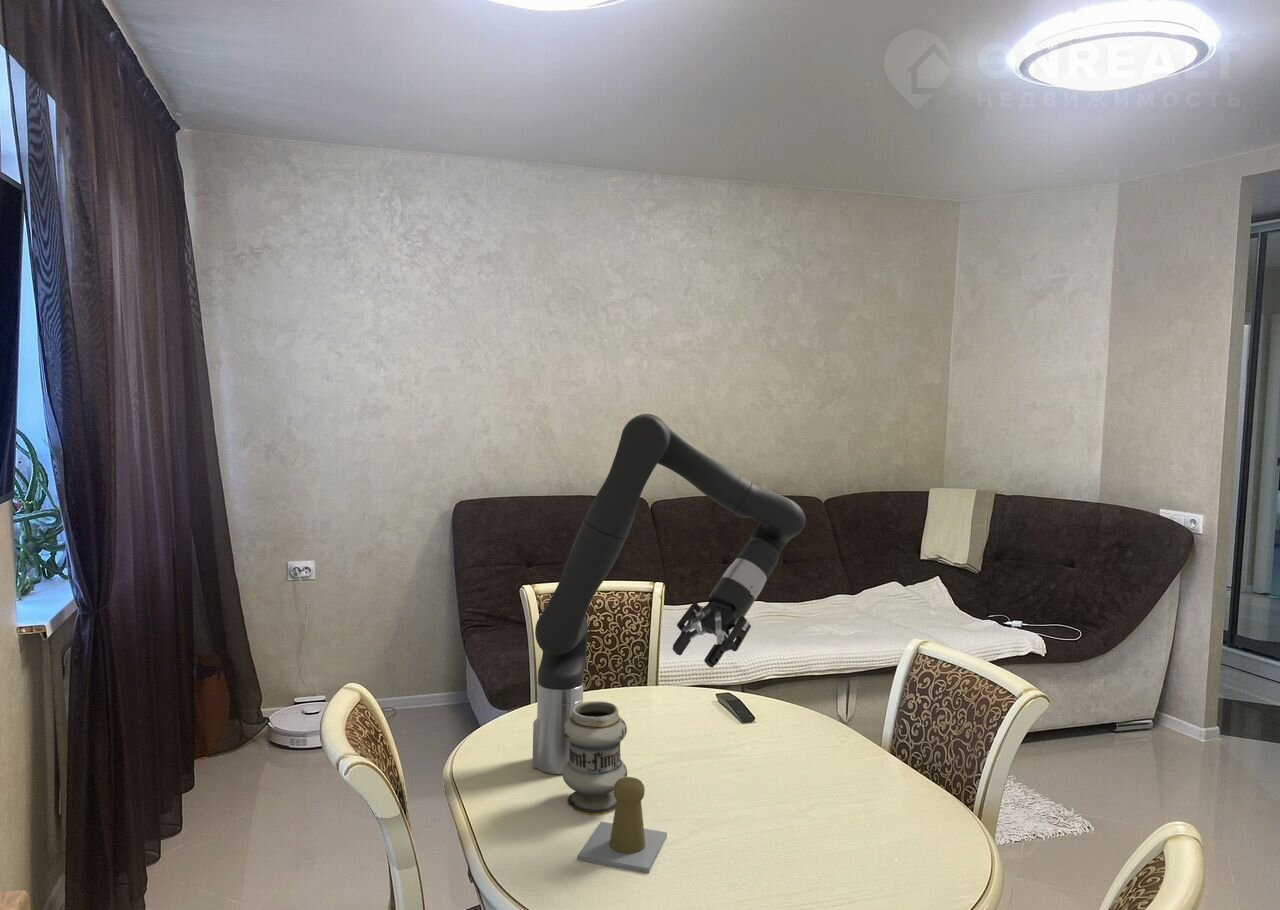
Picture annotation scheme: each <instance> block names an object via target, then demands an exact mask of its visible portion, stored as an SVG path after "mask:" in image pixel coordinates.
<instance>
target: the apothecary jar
mask: <svg viewBox="0 0 1280 910" xmlns="http://www.w3.org/2000/svg"><path fill="white" fill-rule="evenodd" d="M627 732H628V727H627V723H626V722H625V720H624V719H623V718H622V717H621V716H620V714H619V708H618V707H617V705H615V704H614V703H611V702H608V701H601V700H599V701H598V700H592V701H591V700H590V701H583V703H580V704H578V705H576V706H575V707H574V708H573V711H572V715H571V717H570V718H569V719H568V720H567V721H566V722H565V724H564V727H563V733H564V735H565V737H566V739H567V740H568V741H569V760H568V761H567V763H566V764H565V765H564V768H563V771H562V774H561V775H562V779H563V781H564V783H565V784H566V785H567V786H568V788H570V789H571V790H572V791H573V792H571V794H570V795H569V796H568V797H567V805H568V806H569V807H571V808H572V810H573V811H574V810H575V812H577V813H579V814H584V815H589V816H590V815H591V816H595V815H596V814H598V816H599V814H601V815H606V814H609V812H610V813H612V812H615V807H616V801H617V800H616V799H615V797H614V785H615V783H616V782H617V781H618V780H619V779H621V778H624V777H628V769H627V766H626V764H625V763H624V761H623V760H622V759H621V742H622V741H623V740H624V739H625V737H626V735H627ZM605 813H606V814H605Z"/></svg>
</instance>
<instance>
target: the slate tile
mask: <svg viewBox="0 0 1280 910" xmlns="http://www.w3.org/2000/svg"><path fill="white" fill-rule="evenodd" d="M612 826H613V822H607V821H600V822H599V824H598V825H597V827H596V828H595V829H594V831H593V833H592V834H591V835H590V837H589V839H588V840H587V842H586V843H585V844H584V846H583V847H582V849H581V850H580V851H579V853H578V855H577V861H580V862H585V861H586V863H590V864H598V865H602V866H608V867H614V868H619V869H623V870H624V869H625V870H629V871H636V872H641V873H647V874H649V873H650V872H651V870H652V868H653V866H654V864H655V861H656V860H657V858H658V855H659V854H660V851H661V850H662V848H663V846H664V844H665V842H666V840H667V837H668V832H666V831H660V830H653V829H650V828H649V829H648V828H644V835H645V847H644V849H643V850H641V851H640V852H637V853H631V854H626V853H620V852H617V851H614V850H613V849H612V848H611V847H610V845H609V844H610V838H611V832H612Z"/></svg>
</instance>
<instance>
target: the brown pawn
mask: <svg viewBox="0 0 1280 910" xmlns="http://www.w3.org/2000/svg"><path fill="white" fill-rule="evenodd" d="M613 792H614V797H615V799H616V800H617V801H616V807H615V810H614V815H613V820H612V823H613V826H612V832H611V838H610V844H609V845H610V847H611V848H612V849H613V850H614V851H617V852H620V853H626V854H631V853H637V852H640V851H641V850H643V849H644V847H645V835H644V829H645V827H644V817H643V816H644V815H643V809H642V800H643V799H644V797H645V784H644V783H643V782H642V780H641V779H639V778H636V777H632V776H627V777H624V778H621V779H619V780H618V781H617V782H616V783H615V785H614V791H613Z"/></svg>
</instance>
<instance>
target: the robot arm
mask: <svg viewBox="0 0 1280 910" xmlns="http://www.w3.org/2000/svg"><path fill="white" fill-rule="evenodd" d="M657 464H659V465H661V466H663V467H665V468H667V469H669V470H670V471H672V472H674V473H676V474H677V475H679V476H680V477H682V478H684V479H685V480H686V481H688V482H689V484H692V485H693V486H694V487H695V488H696V489H697V490H698V491H700V492H701V493H703V495H705V496H707V497H708V498H709V499H711V500H712V501H713V502H714V503H716V504H718V505H719V506H720V507H723V508H725V509H726V510H727V511H729V512H730V513H733V514H734V515H736V516H737V517H739V518H742V519H748V518H752V519H756V520H757V521H758V523H757V524H756V527H755V528H754V530H753V532H752V534H751V536H750V538H749V540H748V542H747V543H746V544H745V545H744V546H743V548H742V549H741V551H740V553H739V554H738V555H737V556H736V558H735V560H734V561H732V562H731V564H730V565H729V566H728V567H727V568H726V571H724V573H723V575H722V576H721V577H720V579H719V580H718V582H717V584H716V585H715V586H714V588H713V590H712V591H711V592H710V594H709V600H708V603H707V604H706V605H705V606H701V605H700V604H698V602H696V601H694V602H693V603H692V604H691V605H690V607H689V608H688V609H687V610H686V612H685V613H684V614H683V615H682V617H681V618H680V620H679V621H678V622H677V624H676V627H677V628H678V630H679V631H680V632H681V633H680V634H679V636H678V637H677V638H676V640H675V641H674V642H673V645H672V650H673V652H674V653H675V654H676V655H677V656H682V655H683V653H684V651H686V649H687V647H688V646H689V644H690V643H691V641H692V639H694V638H695V637H697V636H702V635H704V634H710V635H713V636H716V643H714V644H713V646H712V647H711V649H710V650H709V651H708V653H707V655H706V656H705V658H704V663H705V664H706V665H707V667H709V668H714V667H715V666H716V665H717V664H718V663H719V661H720V660H721V658H722V657H723V655H724V654H725V653H727V652H728V651H732V652H737V651H738V650H739V648H740V646H741V645H742V643H743V641H744V639H745V638H746V635H747V634H748V633H749V631H750V629H751V627H752V626H751V624H750V622H749V620H748V619H746V617H745V616H746V615H747V614H748V612H749V610H750V609H751V607H752V605H754V602H755V601H756V600H757V598H758V596H759V595H760V593H761V592H762V590H763V588H764V586H765V585H766V584H765V583H766V582H767V580H768V579H769V577H770V576H771V574H772V573H773V572H774V570H775V568H776V566H777V565H778V562H779V559H780V554H781V553H782V551H783V550H784V548H785V547H786V545H787V544H788V543H789V541H790V540H792V539H793V538H794V537H796V536H797V535H799V534H800V533H801V532H802V531H803V530H804V528H805V526H806V515H805V512H804V511H803V509H802V508H801V507H800V506H799V504H797V503H796V502H795V501H793V500H792V499H789V498H788V497H786V496H783V495H780V494H778V493H776V492H774V491H770V490H768V489H766V488H765V489H764V488H762V487H759V486H758V485H756V484H755V483H753V482H751V481H750V480H748V479H746V478H745V477H744V476H742V475H741V474H739V473H737V472H735V471H734V470H732V469H730V468H728V467H727V466H726V465H723V464H722V463H720V462H719V461H716V460H714V459H713V458H711V457H709V456H707V455H706V454H705V453H703V452H702V451H700V450H698V449H697V448H695V447H694V446H693V445H691V444H690V443H688V442H687V441H686V440H684V439H683V438H682V437H681V436H680V435H679V434H677V432H675V431H674V430H673V429H672V428H671V427H669V425H668V424H666V422H665V421H664V420H663V419H662V418H661V417H659V416H657V415H656V414H651V413H641V414H638V415H636V416H635V417H632V418H631V419H630V420H629V421H628V422H627V423H626V424H625V426H624V427H623V429H622V432H621V435H620V440H619V442H618V446H617V449H616V453H615V456H614V459H613V461H612V464H611V467H610V470H609V472H608V474H607V476H606V478H605V480H604V482H603V484H602V486H601V487H600V489H599V491H598V492H597V493H596V496H595V497H594V498H593V501H592V503H591V504H590V506H589V508H588V510H587V512H586V514H585V516H584V518H583V520H582V523H581V525H580V527H579V530H578V531H577V534H576V536H575V539H574V542H573V545H572V547H571V549H570V552H569V555H568V557H567V560H566V562H565V566H564V568H563V572H562V574H561V577H560V579H559V582H558V584H557V586H556V588H555V590H554V592H553V593H552V596H551V597H550V598H549V601H548V603H547V604H546V606H545V608H544V609H543V610H542V613H541V614H540V616H539V618H538V619H537V621H536V623H535V628H534V630H535V631H534V632H535V633H534V636H535V640H536V643H537V645H538V647H539V648H540V649H541V650H542V655H541V660H540V664H539V667H538V671H537V704H536V705H537V708H536V709H537V710H536V719H534V721H532V723H533V724H532V762H531V763H532V764H531V765H532V768H535V769H537V770H539V771H540V772H543V773H547V774H550V775H551V774H552V775H562V771H563V768H564V765H565V764H566V763H567V761H568V760H569V741H568V740H567V739H566V737H565V735H564V733H563V727H564V724H565V722H566V721H567V720H568V719H569V718H570V717H571V715H572V711H573V708H574V707H575V706H576V705H578V704H580V703H583V702H584V676H585V669H586V666H587V665H586V664H587V654H588V653H587V652H588V651H587V650H588V631H589V630H588V628H589V627H588V620H587V616H586V615H587V612H588V609H589V607H590V604H591V602H592V600H593V598H594V596H595V594H596V592H597V591H598V589H599V588H600V586H601V585H602V583H603V582H604V581H605V579H606V578H607V576H608V574H609V573H610V571H611V570H612V568H613V566H614V564H615V563H616V561H617V559H618V557H619V555H620V553H621V551H622V549H623V547H624V545H625V542H626V540H627V538H628V536H629V533H630V530H631V528H632V525H633V522H634V519H635V515H636V514H637V509H638V506H639V502H640V498H641V496H642V493H643V491H644V489H645V486H646V484H647V482H648V480H649V478H651V476H652V473H653V471H654V469H656V466H657ZM699 623H700V625H699ZM685 624H686V625H685ZM693 629H694V630H693ZM691 630H692V631H691Z"/></svg>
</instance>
